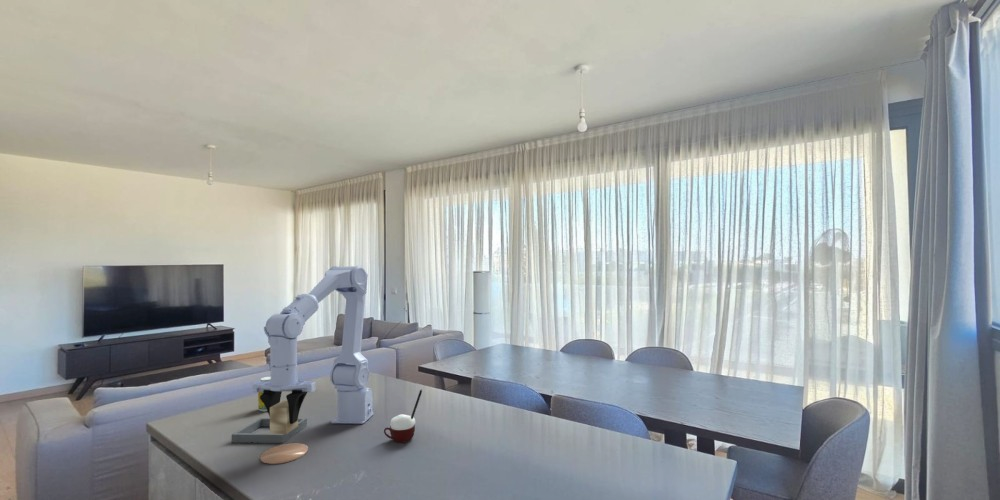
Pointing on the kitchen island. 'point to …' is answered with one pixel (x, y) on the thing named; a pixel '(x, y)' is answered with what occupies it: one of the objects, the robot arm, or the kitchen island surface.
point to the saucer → (284, 453)
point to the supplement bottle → (260, 403)
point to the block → (281, 419)
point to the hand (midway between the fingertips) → (284, 422)
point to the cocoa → (403, 426)
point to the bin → (246, 435)
